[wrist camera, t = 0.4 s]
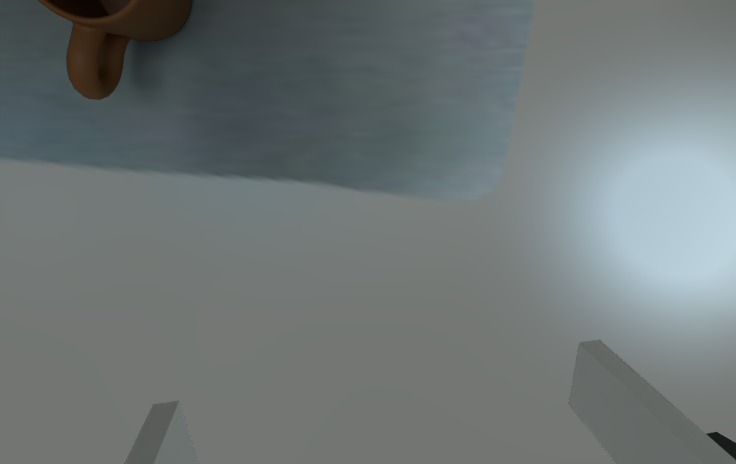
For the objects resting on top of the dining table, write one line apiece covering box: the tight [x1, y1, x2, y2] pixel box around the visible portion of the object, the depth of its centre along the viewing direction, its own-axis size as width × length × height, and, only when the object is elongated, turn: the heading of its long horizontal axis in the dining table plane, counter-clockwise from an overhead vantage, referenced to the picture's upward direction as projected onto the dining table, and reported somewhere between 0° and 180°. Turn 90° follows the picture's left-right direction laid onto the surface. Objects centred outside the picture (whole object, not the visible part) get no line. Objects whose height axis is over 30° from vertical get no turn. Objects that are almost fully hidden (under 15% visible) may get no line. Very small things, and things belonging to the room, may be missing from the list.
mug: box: [38, 0, 191, 100], centre depth 27 cm, size 12×8×9 cm, turn 165°
